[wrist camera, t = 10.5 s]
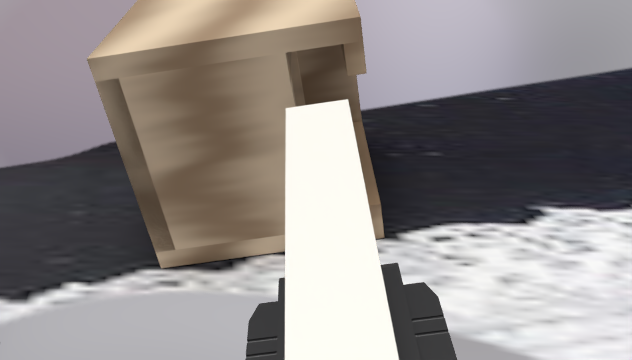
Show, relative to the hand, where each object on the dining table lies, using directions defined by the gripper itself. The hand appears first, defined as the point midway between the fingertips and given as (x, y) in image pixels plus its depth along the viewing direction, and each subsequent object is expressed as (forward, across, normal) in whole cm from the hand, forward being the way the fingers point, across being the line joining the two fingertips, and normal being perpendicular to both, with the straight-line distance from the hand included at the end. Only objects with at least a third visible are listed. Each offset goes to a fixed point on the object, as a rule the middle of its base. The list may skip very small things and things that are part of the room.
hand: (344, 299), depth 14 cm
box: (+18, -4, -9) cm, 21 cm away
